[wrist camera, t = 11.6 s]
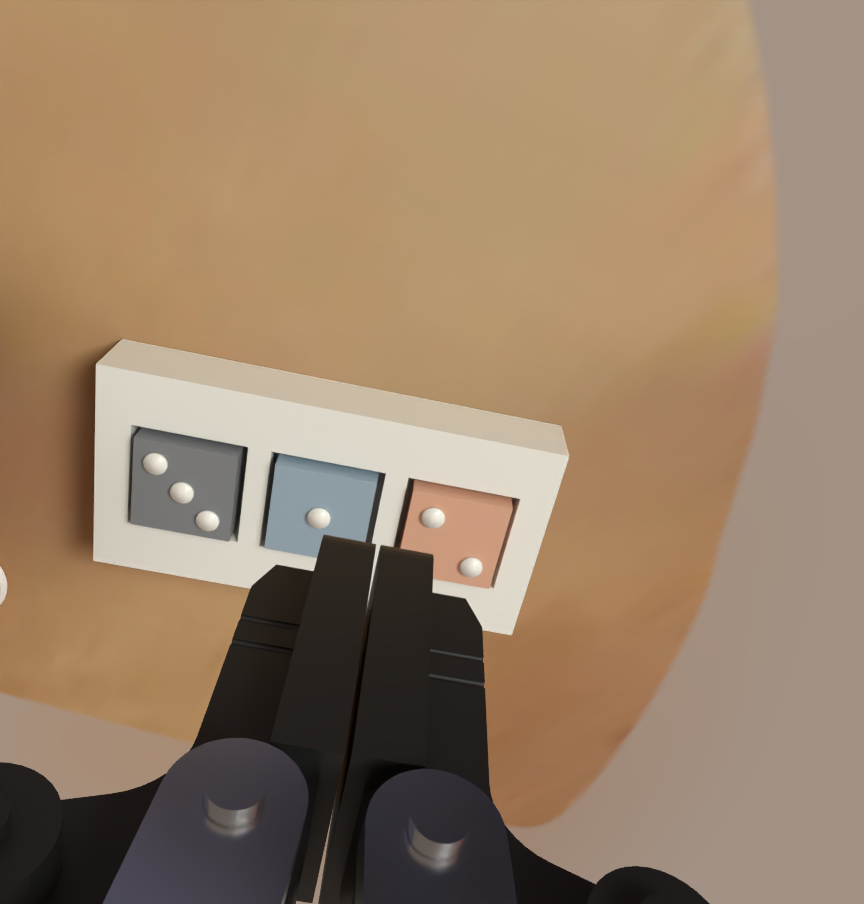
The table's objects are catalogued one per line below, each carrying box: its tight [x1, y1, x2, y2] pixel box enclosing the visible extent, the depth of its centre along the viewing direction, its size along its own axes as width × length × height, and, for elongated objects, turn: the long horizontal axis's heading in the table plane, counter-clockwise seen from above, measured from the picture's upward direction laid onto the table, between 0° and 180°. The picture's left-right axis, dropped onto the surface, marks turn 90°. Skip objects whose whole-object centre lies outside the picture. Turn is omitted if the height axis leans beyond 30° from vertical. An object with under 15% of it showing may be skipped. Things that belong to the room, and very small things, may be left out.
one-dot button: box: [264, 453, 379, 558], centre depth 37 cm, size 4×4×3 cm
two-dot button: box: [398, 479, 513, 589], centre depth 37 cm, size 4×4×3 cm
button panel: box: [93, 339, 569, 635], centre depth 38 cm, size 20×10×3 cm, turn 78°
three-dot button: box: [130, 427, 248, 542], centre depth 37 cm, size 4×4×3 cm
